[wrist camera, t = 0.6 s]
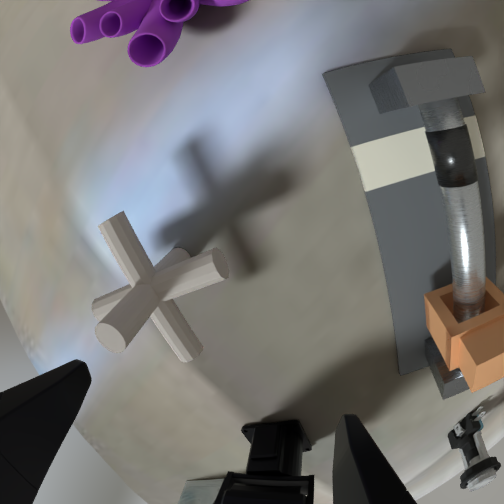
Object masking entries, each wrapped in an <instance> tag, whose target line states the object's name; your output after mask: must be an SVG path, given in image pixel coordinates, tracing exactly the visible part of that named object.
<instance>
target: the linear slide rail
mask: <svg viewBox="0 0 504 504" xmlns="http://www.w3.org/2000/svg"><path fill="white" fill-rule="evenodd" d="M368 86H369V88H370V91H371V93H372V96H373V98H374V101H375V104H376V106H377V109H378V112H379V114H383V113H386V112H390V111H394V110H398V109H403V108H407V107H411V106H415V105H418V108H419V111H420V114H421V117H422V120H423V123H424V126H425V130H426V131H425V134H426V138H427V141H428V145H429V148H430V152H431V156H432V160H433V164H434V168H435V172H436V177H437V181H438V185H439V186H440V190H441V195H442V200H443V206H444V211H445V218H446V224H447V232H448V239H449V248H450V258H451V270H452V286H453V316H454V318H455V319H456V321H457V322H458V324H459V323H461V322H464V321H466V320H468V319H471V318H473V317H475V316H478V315H480V314H482V313H484V312H485V287H486V265H485V241H484V227H483V216H482V208H481V200H480V193H479V186H478V179H479V178H478V173H477V167H476V162H475V157H474V153H473V148H472V144H471V140H470V136H469V132H468V128H467V124H465V122H464V118H463V115H462V112H461V108H460V105H459V102H458V99H457V97H460V96H466V95H472V94H478V93H484V92H485V90H484V87H483V84H482V81H481V78H480V75H479V72H478V70H477V67H476V64H475V62H474V59H473V57H472V56H466V57H456V58H447V59H439V60H432V61H425V62H419V63H413V64H407V65H401V66H396V67H393V68H392V69H390V70H389V71H387V72H386V73H384V74H383V75H382V76H380V77H379V78H377V79H376V80H375V81H373V82H372V83H370V84H369V85H368ZM424 346H425V358H426V360H427V362H428V365H429V367H430V369H431V372H432V374H433V376H434V379H435V381H436V383H437V386H438V388H439V391H440V393H441V396H442V399H443V400H444V399H446V398H449V397H451V396H454V395H456V394H459V393H461V392H463V391H465V390H468V389H470V388H469V386H468V384H467V382H466V380H465V378H464V376H463V374H462V372H461V370H460V368H456V369H454V370H451V371H449V369H448V367H447V365H446V363H445V361H444V359H443V357H442V355H441V353H440V351H439V349H438V347H437V345H436V343H435V341H434V339H433V337H431V338H428V339H426V340H424Z"/></svg>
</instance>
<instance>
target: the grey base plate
mask: <svg viewBox="0 0 504 504" xmlns="http://www.w3.org/2000/svg"><path fill="white" fill-rule="evenodd" d="M447 58H455V56H454V54H453V52H452V49H443V50H434V51H426V52H419V53H413V54H406V55H400V56H395V57H390V58H384V59H379V60H375V61H370V62H366V63H361V64H357V65H353V66H349V67H345V68H341V69H337V70H334V71H330V72H326V73H323V74H322V75H323V77H324V80H325V82H326V84H327V87H328V89H329V91H330V94H331V96H332V99H333V101H334V104H335V106H336V109H337V111H338V114H339V117H340V119H341V122H342V125H343V127H344V130H345V133H346V136H347V138H348V141H349V144H350V147H351V150H352V153H353V156H354V159H355V162H356V165H357V168H358V171H359V174H360V178H361V181H362V184H363V188H364V191H365V195H366V198H367V202H368V205H369V209H370V213H371V216H372V220H373V224H374V228H375V232H376V236H377V240H378V245H379V249H380V253H381V258H382V263H383V267H384V272H385V277H386V282H387V288H388V293H389V299H390V305H391V311H392V317H393V324H394V331H395V339H396V347H397V355H398V365H399V374H400V376H401V375H404V374H407V373H410V372H413V371H416V370H419V369H422V368H425V367H427V366H429V365H428V362H427V360H426V358H425V346H424V340H426V339H428V338H431V337H432V335H431V334H430V332H429V330H428V328H427V326H426V312H425V300H424V294H426V293H428V292H431V291H434V290H437V289H439V288H442V287H445V286H447V285H450V284H452V270H451V258H450V248H449V239H448V232H447V224H446V218H445V211H444V206H443V200H442V195H441V190H440V186H439V185H438V181H437V177H436V172H435V168H434V164H433V160H432V156H431V152H430V148H429V145H428V141H427V138H426V134H425V131H426V130H425V126H424V123H423V120H422V117H421V114H420V111H419V108H418V105H415V106H411V107H407V108H403V109H398V110H394V111H390V112H386V113H383V114H379V112H378V109H377V106H376V104H375V101H374V98H373V96H372V93H371V91H370V88H369V86H368V85H369V84H370V83H372V82H373V81H375V80H376V79H377V78H379V77H380V76H382V75H383V74H384V73H386V72H387V71H389V70H390V69H392V68H393V67H396V66H401V65H407V64H413V63H419V62H425V61H432V60H439V59H447ZM457 99H458V102H459V105H460V108H461V112H462V115H463V118H464V122H465V124H467V128H468V132H469V136H470V140H471V144H472V148H473V153H474V157H475V162H476V167H477V173H478V178H479V179H478V186H479V193H480V200H481V208H482V216H483V227H484V241H485V265H486V277H487V278H488V279H489V280H490V281H491V282H492V283H493V284H494V285H495V286H496V245H495V226H494V214H493V204H492V196H491V188H490V182H489V175H488V169H487V164H486V159H485V152H484V148H483V143H482V139H481V135H480V131H479V127H478V123H477V119H476V116H475V113H474V110H473V106H472V103H471V100H470V97H469V95H466V96H460V97H457Z"/></svg>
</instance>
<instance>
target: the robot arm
mask: <svg viewBox="0 0 504 504" xmlns="http://www.w3.org/2000/svg"><path fill="white" fill-rule="evenodd" d="M90 384H91V375H90V372H89V370H88V367H87V364H86V363H85V362H83V361H81V360H77V359H76V360H73V361H71V362H69V363H66V364H64V365H62V366H60V367H57V368H55V369H53V370H51V371H49V372H46V373H44V374H42V375H40V376H37V377H35V378H33V379H31V380H28V381H26V382H24V383H21V384H19V385H17V386H14V387H12V388H10V389H7V390H5V391H4V392H0V504H33V501H34V499H35V497H36V495H37V493H38V490H39V488H40V486H41V484H42V482H43V480H44V478H45V475H46V474H47V472H48V469H49V467H50V465H51V463H52V461H53V460H54V457H55V456H56V453H57V452H58V450H59V448H60V446H61V444H62V442H63V440H64V438H65V437H66V434H67V433H68V431H69V429H70V427H71V425H72V424H73V422H74V420H75V418H76V416H77V414H78V412H79V410H80V408H81V405H82V403H83V400H84V398H85V396H86V393H87V391H88V389H89V387H90ZM241 431H242V433H243V434H244V436H245V437H246V438H247V439H248V441H249V442H250V443H251V448H250V453H249V458H248V463H247V468H246V473H245V474H241V473H234V472H229V471H228V473H227V476H226V477H225V478H224V480H223V483H222V485H221V488H220V490H219V492H218V495H217V497H216V499H215V501H214V502H213V504H313V501H314V475H309V476H301V468H302V452H306V451H310V450H312V446H311V444H310V442H309V440H308V438H307V436H306V434H305V432H304V430H303V428H302V426H301V424H300V422H299V421H297V420H291V421H285V422H277V423H269V424H261V425H251V426H243V427H242V429H241ZM406 490H407V489H406V487H405V486H404V484H403V483H402V481H401V480H400V478H399V477H398V476H397V474H396V473H395V471H394V470H393V468H392V467H391V465H390V464H389V462H388V461H387V459H386V458H385V456H384V455H383V453H382V452H381V451H380V449H379V448H378V446H377V445H376V443H375V442H374V440H373V439H372V437H371V436H370V434H369V433H368V431H367V430H366V428H365V427H364V425H363V424H362V423H361V421H360V420H359V418H358V417H357V415H355V414H344V415H343V416H342V418H341V420H340V422H339V424H338V426H337V429H336V433H335V447H334V460H333V504H417V503H416V501H415V500H414V499H413V497H412V496H411V494H410V493H409V491H406ZM305 495H307V496H305Z"/></svg>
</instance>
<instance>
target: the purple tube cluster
mask: <svg viewBox="0 0 504 504" xmlns="http://www.w3.org/2000/svg"><path fill="white" fill-rule="evenodd" d="M99 1H112V2H110V3H108V4H106V5H104V6H102V7H99V8H97V9H95V10H93V11H90V12H87V13H85V14H83V15H80V16H78V17H76V18H75V19H74V20H73V21H72V23H71V27H70V33H71V37H72V40H73V41H74V42H75V43H77V44H83V43H88V42H91V41H95V40H98V39H100V38H103V37H105V36H106V37H110V38H112V37H119V36H122V35H126V34H128V33H131V32H133V31H135V30H137V29H138V30H137V31H136V33H135V34H134V35H133V37H132V39H131V40H130V42H129V44H128V55H129V57H130V59H131V60H132V62H134V63H135V64H136V65H139V66H142V67H151V66H155V65H157V64H159V63H160V62H162V61H163V60H164V59H165V58H166V57H167V56H168V55H169V54H170V53H171V52H172V51H173V49H174V47H175V45H176V43H177V42H178V40H179V38H180V35H181V31H182V27H183V22H184V21H187V20H189V19H191V18H192V17H193V16H194V15H195V14H196V12H197V11H198V8H199V4H203V5H211V6H222V7H223V6H232V5H239V4H241V3H244V2H247V1H249V0H99Z"/></svg>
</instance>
